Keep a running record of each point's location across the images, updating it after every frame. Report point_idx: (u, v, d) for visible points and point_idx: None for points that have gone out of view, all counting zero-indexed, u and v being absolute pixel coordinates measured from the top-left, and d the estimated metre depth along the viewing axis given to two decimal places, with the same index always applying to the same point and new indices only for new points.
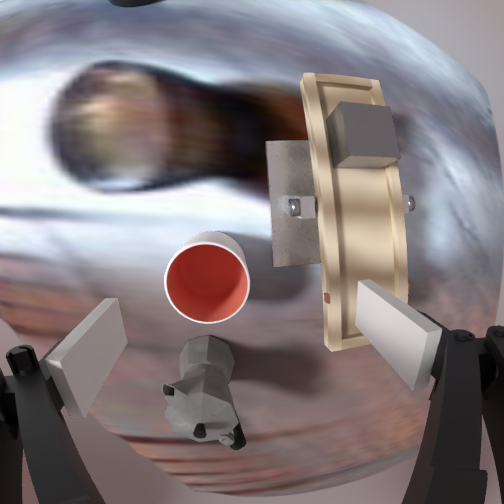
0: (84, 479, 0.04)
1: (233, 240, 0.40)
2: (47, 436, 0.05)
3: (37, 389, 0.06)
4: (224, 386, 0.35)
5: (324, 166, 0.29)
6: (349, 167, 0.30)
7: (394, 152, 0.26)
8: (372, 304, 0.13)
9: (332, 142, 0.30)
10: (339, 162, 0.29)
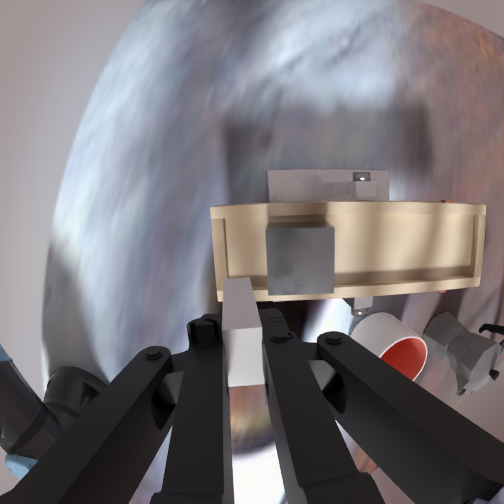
0: (227, 467, 0.05)
1: (361, 327, 0.42)
2: (206, 416, 0.06)
3: (213, 365, 0.08)
4: (469, 345, 0.35)
5: (331, 293, 0.30)
6: None
7: (328, 236, 0.25)
8: None
9: None
10: None
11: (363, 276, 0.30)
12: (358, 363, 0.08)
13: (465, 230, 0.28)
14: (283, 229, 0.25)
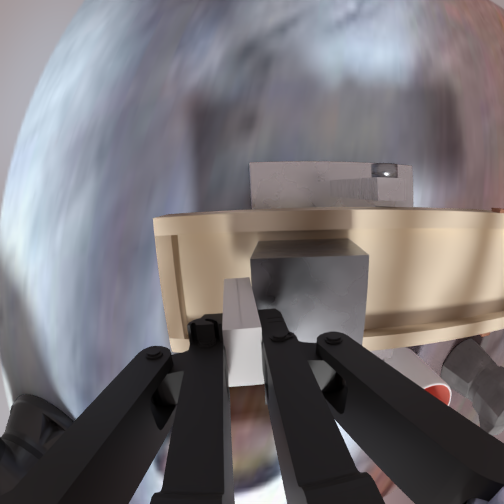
0: (227, 467, 0.05)
1: None
2: (206, 417, 0.06)
3: (213, 365, 0.08)
4: (498, 384, 0.24)
5: None
6: None
7: (357, 269, 0.14)
8: None
9: None
10: None
11: (383, 319, 0.20)
12: (358, 363, 0.08)
13: None
14: (281, 258, 0.14)
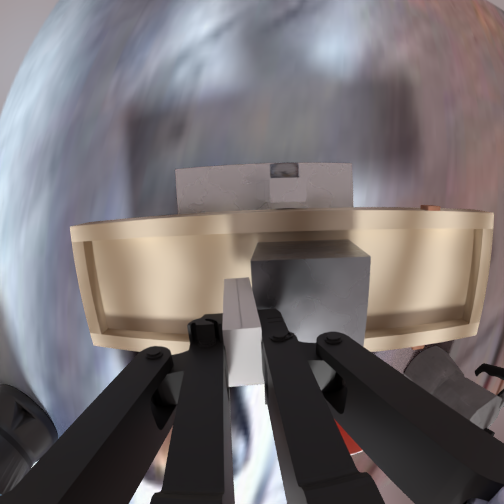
0: (227, 467, 0.05)
1: None
2: (206, 417, 0.06)
3: (213, 365, 0.08)
4: (459, 398, 0.25)
5: None
6: None
7: (359, 271, 0.14)
8: None
9: None
10: None
11: None
12: (357, 363, 0.08)
13: (460, 252, 0.18)
14: (282, 260, 0.14)
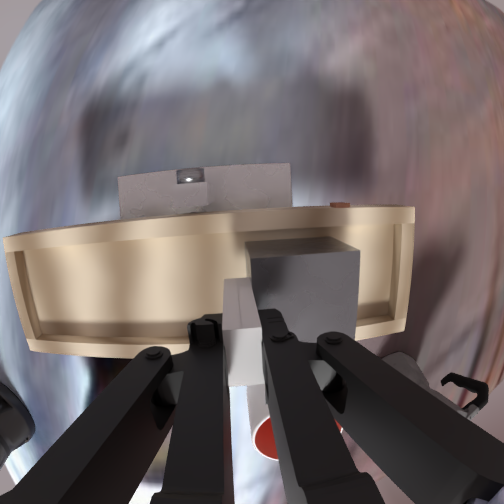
0: (227, 467, 0.05)
1: None
2: (206, 416, 0.06)
3: (213, 365, 0.08)
4: None
5: None
6: None
7: (350, 264, 0.15)
8: None
9: None
10: None
11: None
12: (358, 363, 0.08)
13: (379, 248, 0.21)
14: (280, 257, 0.15)
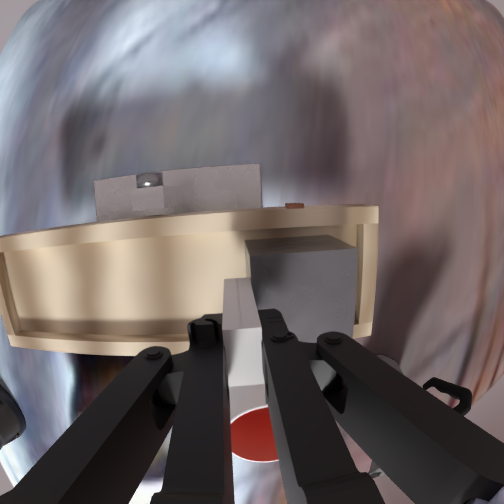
0: (227, 467, 0.05)
1: None
2: (207, 417, 0.06)
3: (213, 365, 0.08)
4: None
5: (113, 349, 0.20)
6: None
7: (348, 262, 0.16)
8: None
9: None
10: None
11: (159, 326, 0.21)
12: (358, 363, 0.08)
13: None
14: (279, 254, 0.15)
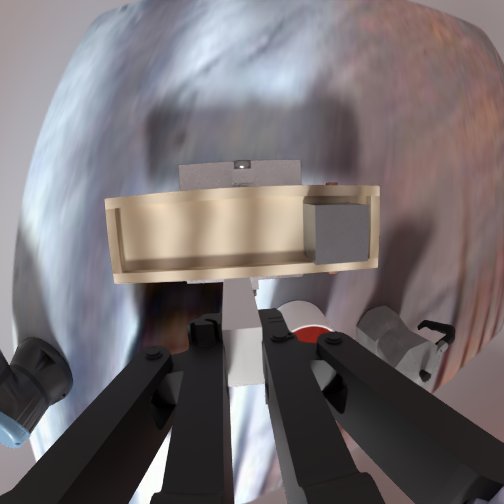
0: (227, 467, 0.05)
1: None
2: (206, 417, 0.06)
3: (213, 365, 0.08)
4: (397, 342, 0.38)
5: (213, 274, 0.33)
6: None
7: (364, 212, 0.28)
8: None
9: None
10: None
11: (245, 258, 0.34)
12: (358, 363, 0.08)
13: None
14: (329, 205, 0.28)
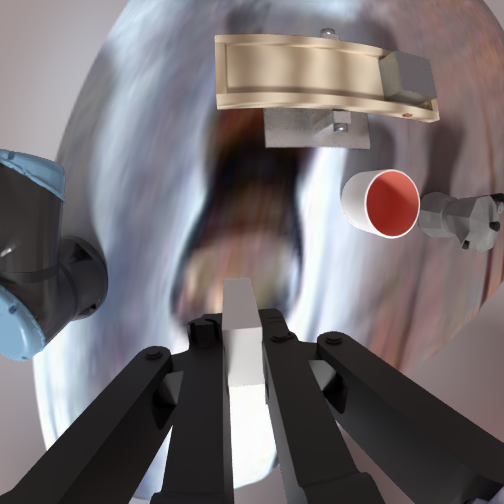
0: (227, 467, 0.05)
1: (351, 180, 0.44)
2: (206, 416, 0.06)
3: (213, 365, 0.08)
4: (462, 201, 0.37)
5: (316, 98, 0.31)
6: None
7: (426, 63, 0.28)
8: None
9: (405, 100, 0.32)
10: (424, 102, 0.32)
11: (340, 93, 0.33)
12: (358, 363, 0.08)
13: None
14: (404, 53, 0.27)
